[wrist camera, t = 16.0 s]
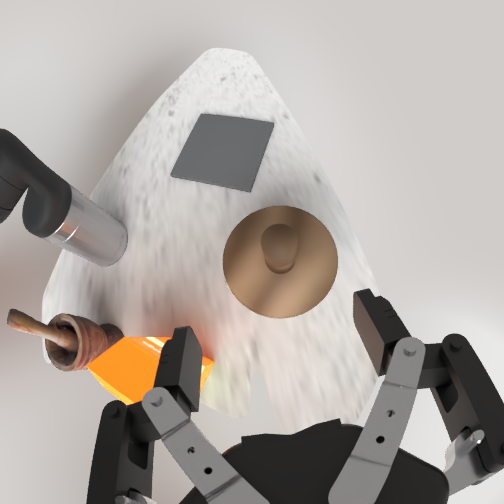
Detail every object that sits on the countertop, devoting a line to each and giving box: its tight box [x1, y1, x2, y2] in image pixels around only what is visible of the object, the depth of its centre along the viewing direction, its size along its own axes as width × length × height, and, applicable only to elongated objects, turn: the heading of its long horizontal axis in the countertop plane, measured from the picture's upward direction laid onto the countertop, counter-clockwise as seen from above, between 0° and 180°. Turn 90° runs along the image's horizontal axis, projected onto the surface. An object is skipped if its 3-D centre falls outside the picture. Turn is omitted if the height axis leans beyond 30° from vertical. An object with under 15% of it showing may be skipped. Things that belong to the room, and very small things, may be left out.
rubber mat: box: [170, 114, 274, 192], centre depth 52 cm, size 16×16×1 cm
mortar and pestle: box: [7, 309, 124, 371], centre depth 35 cm, size 12×9×20 cm
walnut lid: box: [223, 206, 338, 318], centre depth 31 cm, size 14×14×8 cm
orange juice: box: [87, 337, 215, 405], centre depth 33 cm, size 8×9×20 cm
